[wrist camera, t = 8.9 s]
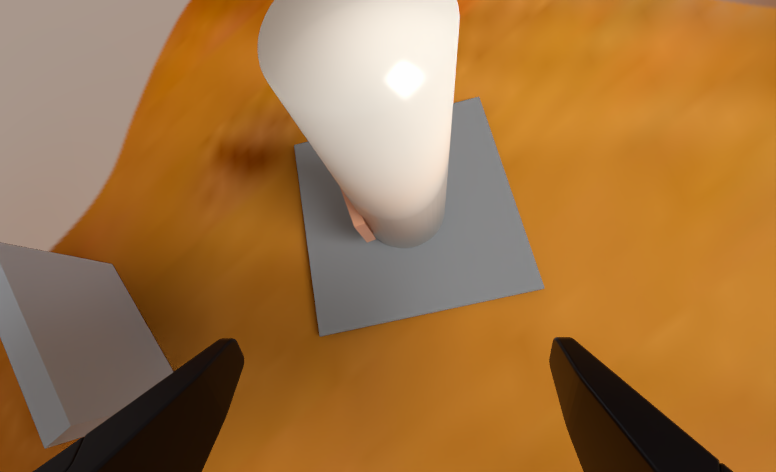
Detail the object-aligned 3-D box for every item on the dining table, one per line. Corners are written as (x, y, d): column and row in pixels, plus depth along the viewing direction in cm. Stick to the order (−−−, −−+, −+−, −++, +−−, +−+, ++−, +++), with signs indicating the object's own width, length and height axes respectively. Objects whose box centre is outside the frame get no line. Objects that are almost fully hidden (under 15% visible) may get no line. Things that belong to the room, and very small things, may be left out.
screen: (186, 394, 18) (70, 425, 12) (169, 409, 18) (44, 448, 12) (112, 264, 21) (-10, 240, 15) (97, 276, 21) (-32, 257, 15)
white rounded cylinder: (458, 229, 18) (497, 62, 7) (376, 262, 18) (275, 154, 7) (426, 161, 19) (411, -77, 8) (350, 192, 20) (229, 2, 8)
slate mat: (542, 289, 17) (544, 288, 17) (321, 336, 18) (319, 336, 17) (478, 100, 20) (478, 96, 20) (296, 148, 21) (294, 145, 21)
